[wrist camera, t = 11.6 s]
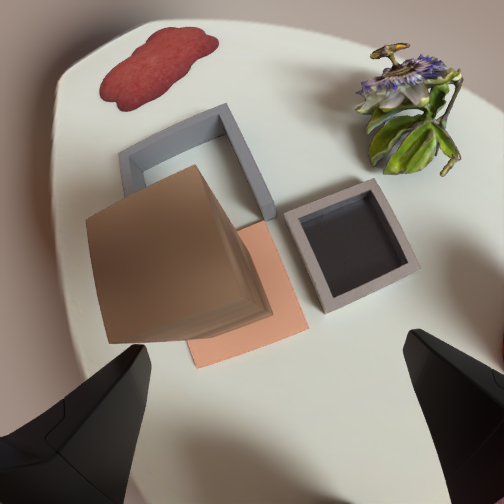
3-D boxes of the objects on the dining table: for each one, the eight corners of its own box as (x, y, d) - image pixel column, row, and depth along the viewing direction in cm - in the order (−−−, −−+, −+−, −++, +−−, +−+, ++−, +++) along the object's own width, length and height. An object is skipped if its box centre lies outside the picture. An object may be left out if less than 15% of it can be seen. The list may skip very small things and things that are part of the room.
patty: (169, 27, 35) (165, 19, 33) (234, 38, 32) (231, 27, 30) (89, 98, 33) (82, 90, 31) (142, 122, 29) (134, 112, 27)
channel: (276, 217, 23) (273, 201, 21) (155, 268, 24) (137, 259, 21) (232, 122, 27) (226, 102, 24) (132, 168, 27) (118, 153, 24)
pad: (308, 328, 21) (309, 328, 20) (198, 368, 21) (197, 368, 21) (265, 221, 23) (264, 220, 23) (164, 263, 24) (162, 262, 23)
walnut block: (273, 315, 21) (241, 296, 9) (211, 337, 21) (109, 343, 9) (250, 253, 23) (195, 164, 10) (191, 277, 23) (85, 219, 10)
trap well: (413, 272, 21) (420, 268, 19) (325, 314, 21) (327, 313, 20) (370, 186, 23) (374, 178, 21) (284, 220, 23) (283, 213, 22)
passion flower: (367, 137, 30) (391, 44, 22) (450, 182, 25) (485, 84, 17) (320, 153, 23) (349, 20, 15) (435, 216, 19) (490, 71, 11)
